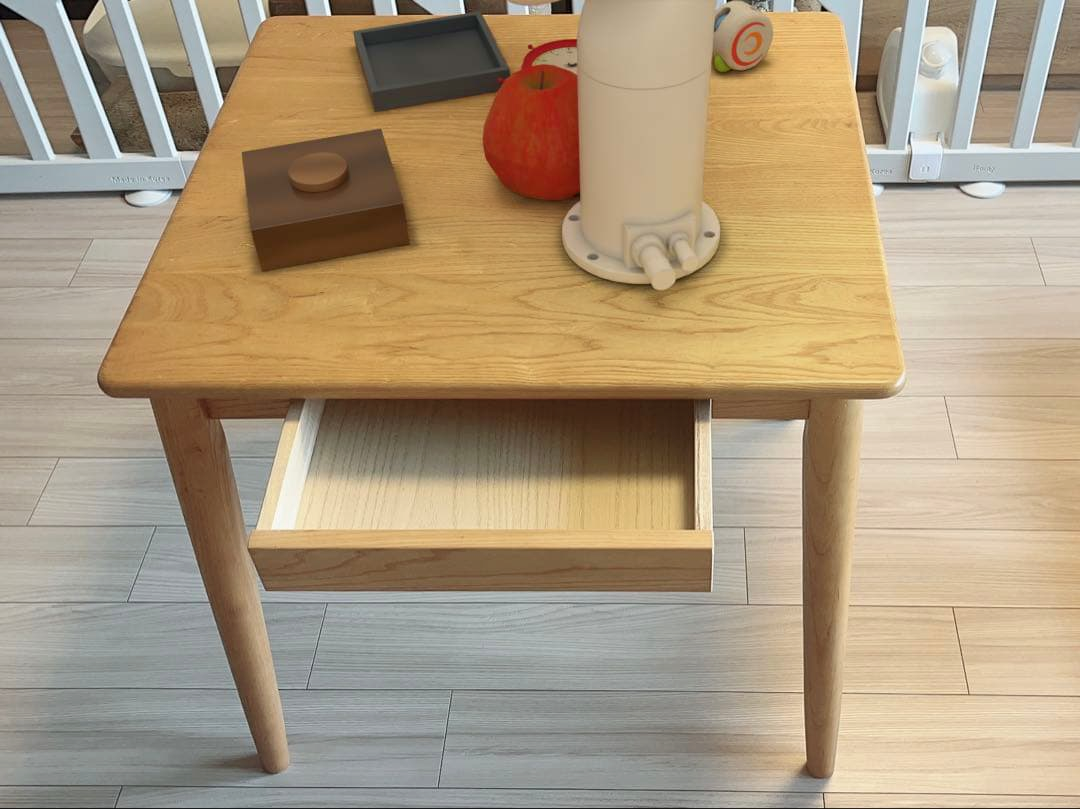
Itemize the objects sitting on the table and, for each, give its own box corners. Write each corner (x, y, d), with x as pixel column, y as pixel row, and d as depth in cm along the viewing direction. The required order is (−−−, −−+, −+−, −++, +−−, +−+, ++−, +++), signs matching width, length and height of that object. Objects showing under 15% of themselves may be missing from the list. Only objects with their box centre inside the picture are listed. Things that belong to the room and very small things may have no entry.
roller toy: (696, 61, 112) (699, 5, 108) (749, 45, 114) (754, -11, 110) (721, 80, 109) (726, 22, 105) (775, 63, 111) (781, 6, 107)
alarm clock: (530, 31, 110) (675, 18, 103) (546, 91, 114) (686, 82, 107) (485, 81, 103) (637, 70, 96) (504, 142, 107) (651, 136, 100)
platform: (409, 244, 92) (402, 194, 88) (261, 271, 90) (248, 221, 86) (387, 168, 100) (379, 119, 97) (251, 191, 98) (239, 143, 95)
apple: (479, 214, 94) (466, 99, 87) (500, 150, 101) (489, 40, 94) (601, 218, 93) (598, 101, 85) (613, 153, 100) (611, 40, 93)
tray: (511, 89, 109) (509, 69, 108) (374, 111, 107) (371, 91, 106) (482, 29, 119) (480, 10, 117) (356, 49, 117) (352, 30, 115)
